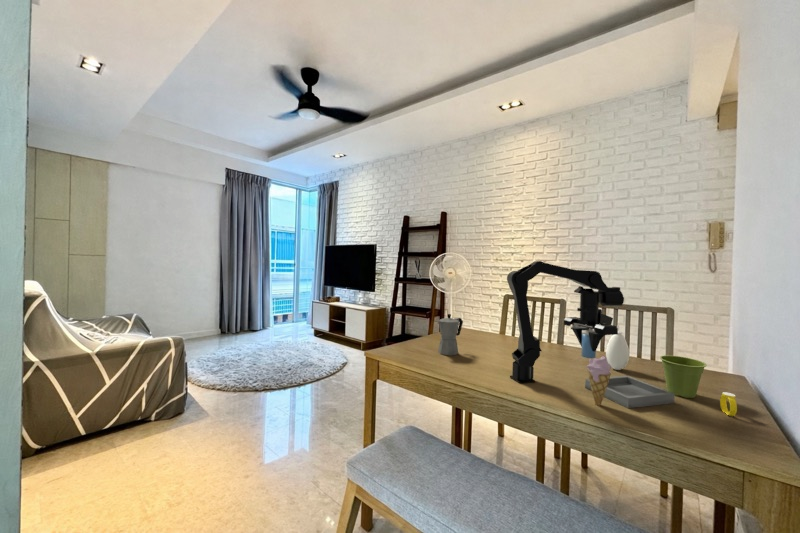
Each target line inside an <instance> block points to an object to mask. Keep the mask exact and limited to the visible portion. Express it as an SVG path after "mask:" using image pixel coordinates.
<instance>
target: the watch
mask: <svg viewBox="0 0 800 533" xmlns="http://www.w3.org/2000/svg"><path fill="white" fill-rule="evenodd" d="M727 402H729V409H728V405H727ZM719 404H720V409H721V411H722V412H723V413H724V412H725V413H726V414H727V415H729V416H728V417H733V416H734V417H735V416H736V415H737V412H738V404H737V401H736V395H735V394H734V393H732V392H731V393H730V392H726V391H725V392H724V391H723V392H722V393H721V395H720V400H719ZM725 413H724V414H725ZM726 414H725V415H726ZM727 415H726V416H727Z"/></svg>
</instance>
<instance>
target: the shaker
mask: <svg viewBox="0 0 800 533" xmlns="http://www.w3.org/2000/svg"><path fill="white" fill-rule="evenodd" d="M593 330H594V329H589V330H582V347H581V357H583V358H586V359H595V358H597V357H596V356H597V355H596V351H597V350H596V351H592V348H591V343H590V338H589V332H593Z"/></svg>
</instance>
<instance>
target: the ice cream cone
mask: <svg viewBox="0 0 800 533" xmlns="http://www.w3.org/2000/svg"><path fill="white" fill-rule="evenodd" d="M588 362H589V363H588V364H587V365H586V368H587V373H588V379H589V381H590V385H591V390H592V391H591V390H590V391H591V393H592V397H593V401H594V404H595V406H599V407H601V405H602V402H603V399H604V398H605V397H604V395H605V392H606V389H607V386H608V383H609V379H610V377H611V369H612V366H611V365H610V364H609V363H608V361H607V357H606V355H603V356H601V357H600V358H597V357H596V358H589V359H588Z"/></svg>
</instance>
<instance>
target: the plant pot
mask: <svg viewBox="0 0 800 533" xmlns="http://www.w3.org/2000/svg"><path fill="white" fill-rule="evenodd" d="M659 359H660V361H661V362H662V367H663V372H664V373H663V374H664V378H665V385H666V390H667V391H669V392H672V393H675V395H674V396H675V397H676V396H680V397H682V398H686V399H693V398H696V396H697V393H698V389H699V384H700V382H701V378H702V374H703V373H704V370H705V368H706V367H707V365H708V364H707V363H705V362H703V361H701V360H699V359H695V358H690V357H685V356H680V355H666V354H664V355H660V356H659Z"/></svg>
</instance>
